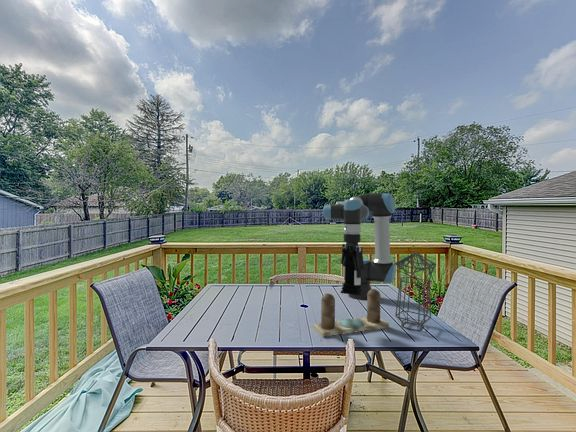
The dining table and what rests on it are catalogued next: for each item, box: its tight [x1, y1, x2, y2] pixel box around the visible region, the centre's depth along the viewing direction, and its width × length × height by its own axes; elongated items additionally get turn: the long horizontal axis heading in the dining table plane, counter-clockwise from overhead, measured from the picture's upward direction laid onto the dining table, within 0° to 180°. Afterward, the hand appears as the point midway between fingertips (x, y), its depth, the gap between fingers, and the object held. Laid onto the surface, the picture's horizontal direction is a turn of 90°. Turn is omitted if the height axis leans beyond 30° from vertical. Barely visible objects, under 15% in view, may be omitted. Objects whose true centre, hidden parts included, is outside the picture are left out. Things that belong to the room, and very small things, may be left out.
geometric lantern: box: [393, 251, 437, 332], centre depth 141 cm, size 16×16×35 cm
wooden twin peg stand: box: [312, 288, 390, 338], centre depth 139 cm, size 34×11×17 cm, turn 109°
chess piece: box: [340, 248, 362, 295], centre depth 139 cm, size 8×8×20 cm
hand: (351, 282), depth 139 cm, fingers closed on chess piece, 9 cm apart
